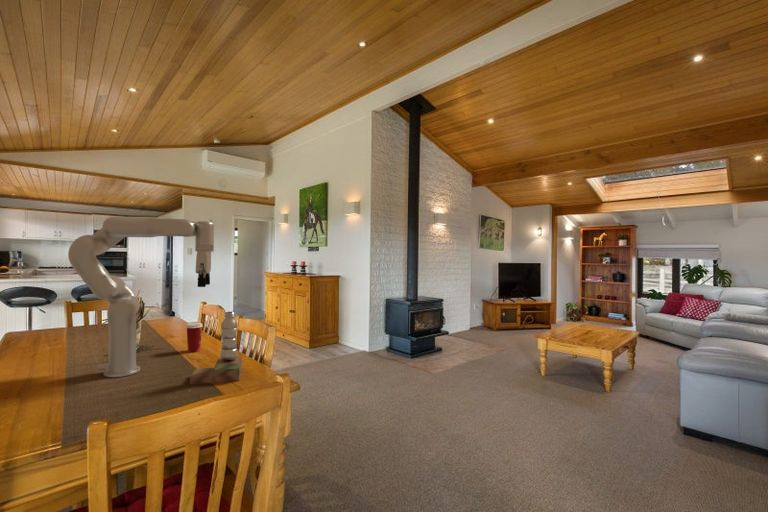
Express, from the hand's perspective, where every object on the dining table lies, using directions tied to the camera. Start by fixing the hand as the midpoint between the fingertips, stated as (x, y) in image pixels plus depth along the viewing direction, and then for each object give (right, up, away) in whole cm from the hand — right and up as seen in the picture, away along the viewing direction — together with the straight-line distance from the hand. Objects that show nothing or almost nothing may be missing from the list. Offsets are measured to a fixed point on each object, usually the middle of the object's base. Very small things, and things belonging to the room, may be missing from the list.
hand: (203, 285), depth 165 cm
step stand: (+14, -37, -16) cm, 43 cm away
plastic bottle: (+18, -30, -14) cm, 38 cm away
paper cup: (-15, -36, +21) cm, 44 cm away
